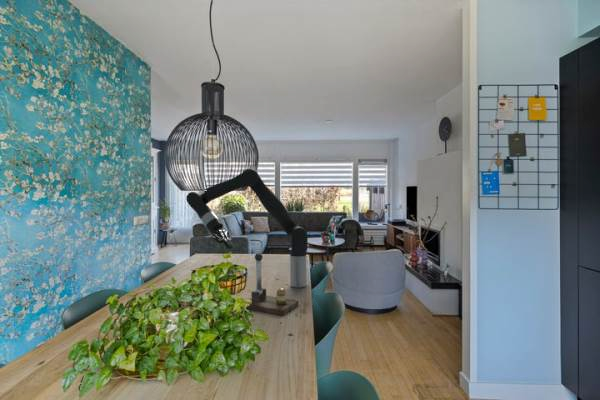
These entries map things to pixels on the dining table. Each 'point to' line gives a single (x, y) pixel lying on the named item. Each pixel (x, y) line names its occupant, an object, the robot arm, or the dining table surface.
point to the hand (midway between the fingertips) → (231, 247)
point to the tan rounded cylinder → (281, 297)
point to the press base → (270, 304)
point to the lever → (258, 273)
